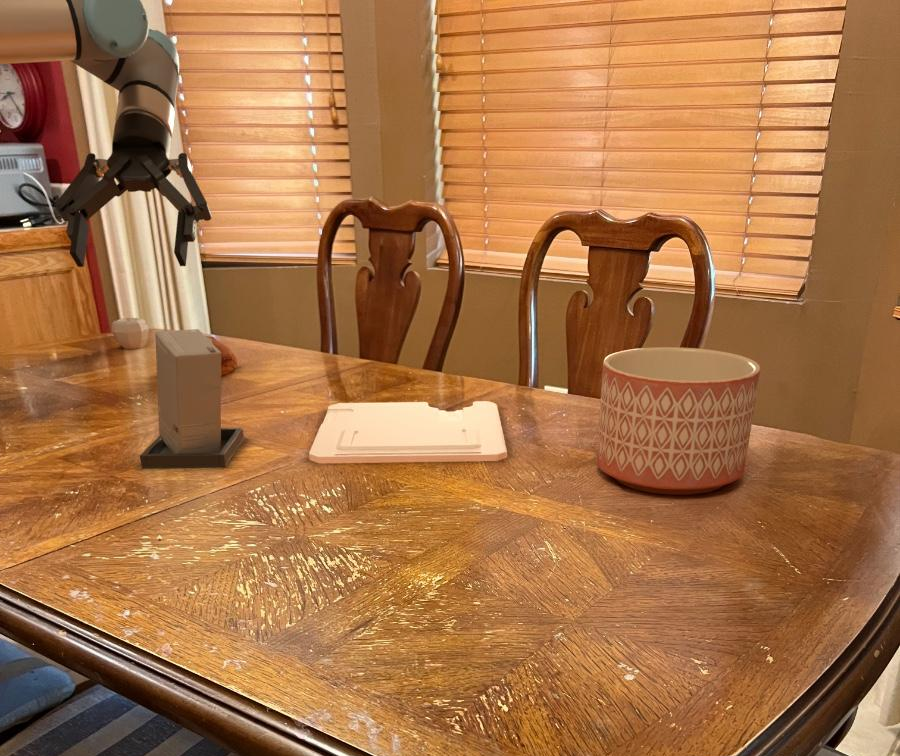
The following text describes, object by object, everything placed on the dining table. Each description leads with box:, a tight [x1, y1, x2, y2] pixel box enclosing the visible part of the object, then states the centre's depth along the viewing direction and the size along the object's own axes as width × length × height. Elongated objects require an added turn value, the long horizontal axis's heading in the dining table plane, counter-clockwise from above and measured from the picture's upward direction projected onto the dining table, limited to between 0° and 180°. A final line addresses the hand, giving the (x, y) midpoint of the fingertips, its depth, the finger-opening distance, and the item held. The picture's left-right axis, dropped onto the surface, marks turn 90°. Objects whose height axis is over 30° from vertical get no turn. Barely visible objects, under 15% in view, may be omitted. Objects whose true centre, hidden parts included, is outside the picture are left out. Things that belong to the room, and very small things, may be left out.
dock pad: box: [139, 427, 245, 470], centre depth 124 cm, size 12×13×2 cm
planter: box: [595, 346, 761, 496], centre depth 111 cm, size 19×19×15 cm
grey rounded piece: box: [111, 317, 150, 350], centre depth 190 cm, size 8×8×7 cm
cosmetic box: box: [154, 328, 222, 454], centre depth 119 cm, size 8×7×16 cm
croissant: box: [155, 335, 238, 377], centre depth 168 cm, size 14×16×8 cm
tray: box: [308, 400, 508, 464], centre depth 132 cm, size 28×28×2 cm
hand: (128, 260), depth 113 cm, fingers open, 13 cm apart
